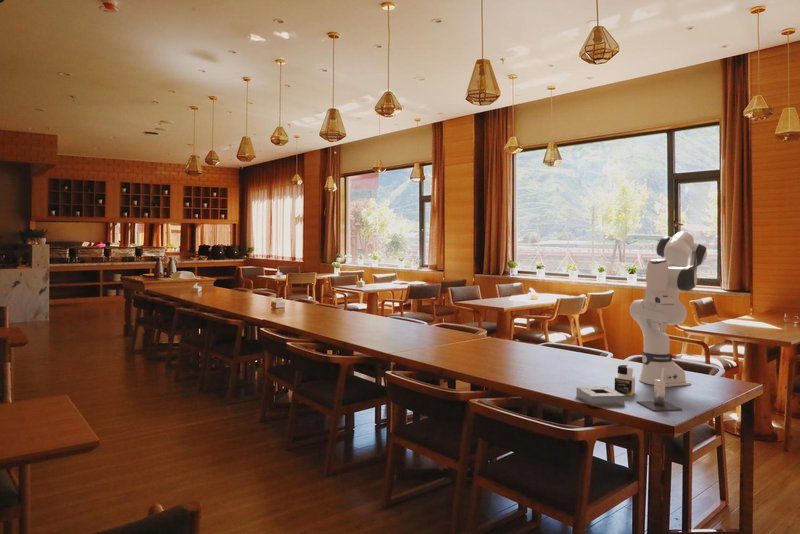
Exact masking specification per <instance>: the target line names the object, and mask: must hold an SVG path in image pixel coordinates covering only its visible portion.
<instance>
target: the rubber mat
mask: <svg viewBox="0 0 800 534" xmlns="http://www.w3.org/2000/svg"><path fill="white" fill-rule="evenodd" d="M636 403H637V404H638V405H641V406H642V407H644V408H646V409H648V410H650V411H651V412H678V411H677V410H682V411H683V408H680V407H679V406H677V405H674V404H672V403H671V402H668V401H666V400H665V406H663V407H660V406H655V405H654V400H639V401H638V400H637V401H636ZM670 410H671V411H670ZM674 410H675V411H674Z"/></svg>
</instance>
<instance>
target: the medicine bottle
mask: <svg viewBox="0 0 800 534" xmlns="http://www.w3.org/2000/svg"><path fill="white" fill-rule="evenodd" d="M633 369H634V368H633V366H631V365H627V364H620V365H618V366H617V375H616V376H615V377H614V387H613V388H614V389H613V390H615V391H617V392H619V393H621V394H623V395H625V396H629V397H630V396H632V395H633V394H635V391H636V390H635V389H636V376H634V375H633Z"/></svg>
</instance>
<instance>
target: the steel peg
mask: <svg viewBox="0 0 800 534" xmlns="http://www.w3.org/2000/svg"><path fill="white" fill-rule="evenodd" d="M653 401H654V405H655V406H660V407H663V406H665V401H666V387H665V380H661V379H655V380H654V385H653Z"/></svg>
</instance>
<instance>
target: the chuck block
mask: <svg viewBox="0 0 800 534" xmlns="http://www.w3.org/2000/svg"><path fill="white" fill-rule="evenodd" d="M576 398H578V399H579V400H581V401H583V402H584V403H586V404H588V405H589V406H591V407H605V406H607V407H612V406H613V407H614V405H618V406H625V404H626V403H625V401H626V400H625V399H626V395H623V394H621V393H619V392H617V391H615V390H614V389H613V388H611V387H609V386H583V387H582V386H579V387H576ZM610 405H611V406H610Z"/></svg>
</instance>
